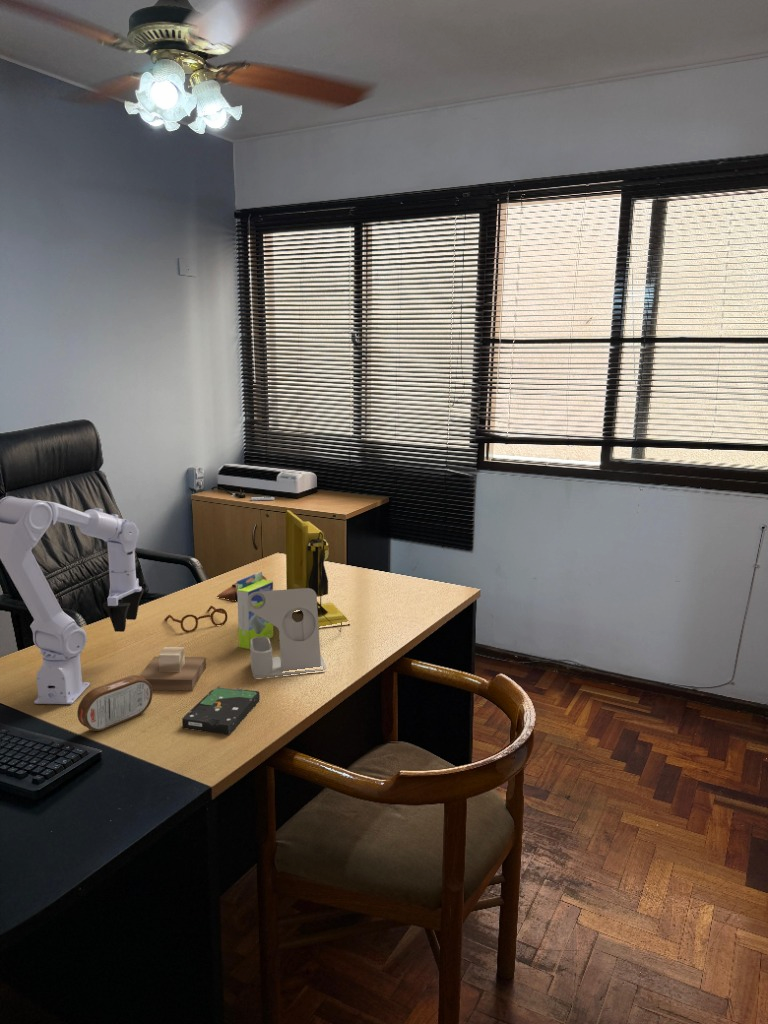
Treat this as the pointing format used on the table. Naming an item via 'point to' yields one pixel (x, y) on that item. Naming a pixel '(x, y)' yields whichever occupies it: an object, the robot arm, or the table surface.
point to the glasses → (200, 618)
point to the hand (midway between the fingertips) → (125, 625)
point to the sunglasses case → (233, 591)
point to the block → (171, 659)
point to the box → (247, 620)
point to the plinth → (175, 674)
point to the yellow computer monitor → (309, 565)
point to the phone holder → (287, 633)
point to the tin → (114, 703)
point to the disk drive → (221, 710)
